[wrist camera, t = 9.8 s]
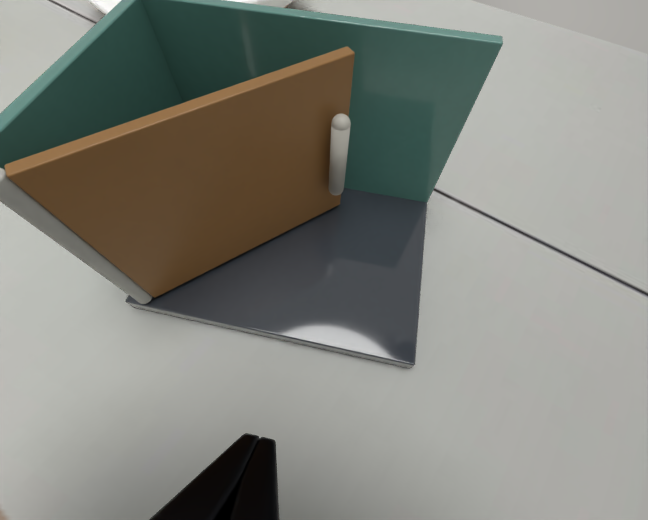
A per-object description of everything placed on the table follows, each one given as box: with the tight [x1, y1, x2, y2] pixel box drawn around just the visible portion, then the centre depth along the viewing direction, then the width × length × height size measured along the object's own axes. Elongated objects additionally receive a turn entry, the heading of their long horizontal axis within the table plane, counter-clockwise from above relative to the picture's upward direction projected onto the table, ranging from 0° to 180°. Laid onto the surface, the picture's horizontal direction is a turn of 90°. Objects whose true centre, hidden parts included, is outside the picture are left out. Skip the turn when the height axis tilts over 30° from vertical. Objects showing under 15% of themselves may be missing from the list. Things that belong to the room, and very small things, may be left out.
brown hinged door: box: [0, 47, 355, 304], centre depth 16 cm, size 2×14×10 cm, turn 123°
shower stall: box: [0, 0, 503, 368], centre depth 17 cm, size 12×17×12 cm
